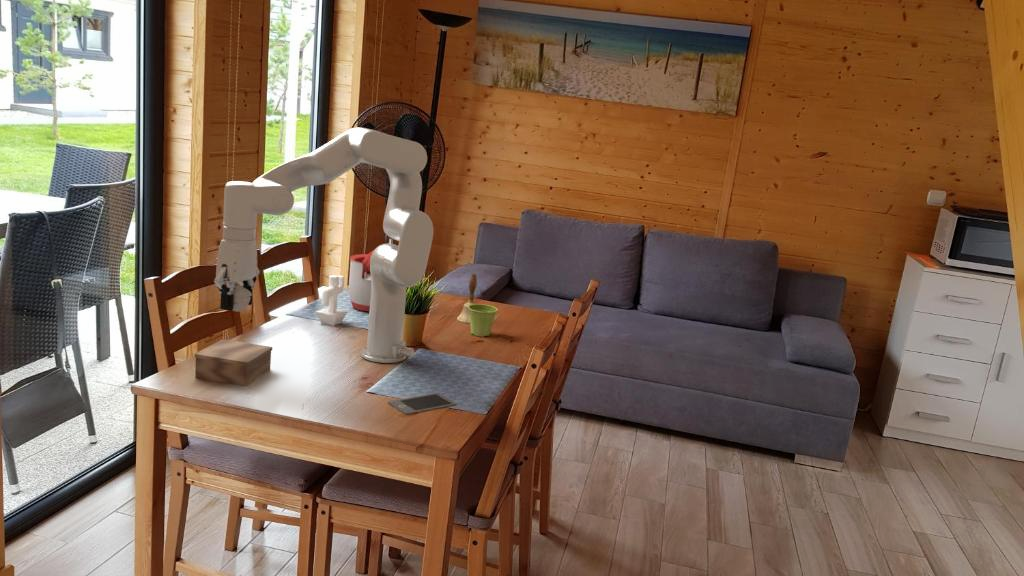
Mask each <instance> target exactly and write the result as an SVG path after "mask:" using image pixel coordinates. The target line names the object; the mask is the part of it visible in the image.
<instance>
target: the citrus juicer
mask: <svg viewBox="0 0 1024 576" xmlns="http://www.w3.org/2000/svg"><path fill="white" fill-rule="evenodd" d="M374 250H375V249H373V250H372V251H370V252H369V253H362V254H361V253H360V254H353V255H350V256H349V259H350V261H349V262H350V267H349V279H348V292H349V293H348V294H349V297H350V302H351V306H352V307H353V308H354V309H356V311H363V312H370V300H371V272H370V259H371V255H372V253H373V251H374Z"/></svg>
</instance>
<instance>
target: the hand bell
mask: <svg viewBox="0 0 1024 576" xmlns="http://www.w3.org/2000/svg"><path fill="white" fill-rule="evenodd" d="M477 284H478V280H477V274H476V273H472V274H471V276H470V278H469V281H468V291H469V295H468V301H467V302H465V303H464V304H463V308H462V310H461V313H460V314H459V315H458V316H457V318H456V320H457V321H459V322H461V323H465V324H470V313H469V309H468V306H469V305H472V304H475V303H474V298H475V292H476V288H477Z"/></svg>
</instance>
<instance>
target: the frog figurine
mask: <svg viewBox="0 0 1024 576" xmlns="http://www.w3.org/2000/svg"><path fill="white" fill-rule="evenodd" d="M229 285H230V284H226V286H227V287H228V288H229ZM232 294H233V295H234V301H233V310H232V311H233V312H236V313H237V312H242V311H245V310H246V309H247V308H248V306H249V305H248V304H249V302H250V296H251V295H252V296H253V294H252V293H251V292H250V291H249V290H248V289H246V288H244V287H243V286H242V285H240V284H239V282H238V283H235V285H234V288H233V291H232Z"/></svg>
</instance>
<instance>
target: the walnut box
mask: <svg viewBox="0 0 1024 576" xmlns="http://www.w3.org/2000/svg"><path fill="white" fill-rule="evenodd" d="M272 351H273V347H272V346H269V345H261V344H256V343H248V342H243V341H242V342H241V341H237V340H231V339H225V338H224V339H223V338H222V339H220V340H218V341H216V342H214V343H212V344H210V345H209V346H207V347H205V348H203V349H201V350H200V351H197V352H195V353H194V358H195V370H194V371H195V373H194V375H195V376H194V378H196V379H201V380H207V381H213V382H219V383H226V384H230V385H231V384H232V385H237V386H245V387H247V386H249V385H250V384H251V383H253V382H254V381H256V380H257V379H259V378H260V377H262V376H263V375H265V374H266V373H268V372H270V371H271V360H272Z"/></svg>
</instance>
